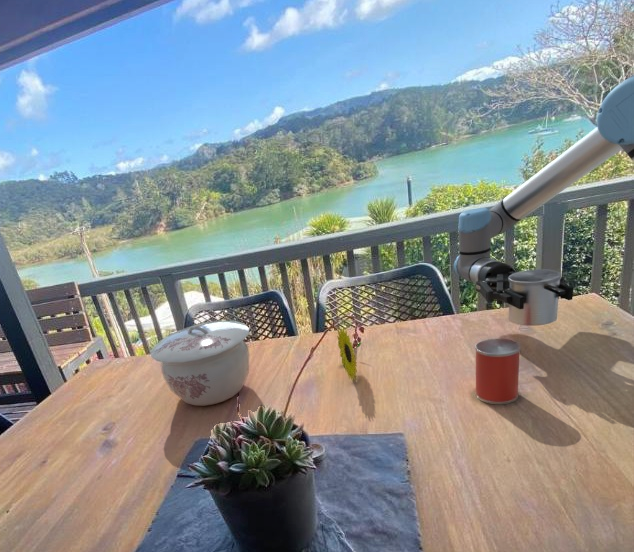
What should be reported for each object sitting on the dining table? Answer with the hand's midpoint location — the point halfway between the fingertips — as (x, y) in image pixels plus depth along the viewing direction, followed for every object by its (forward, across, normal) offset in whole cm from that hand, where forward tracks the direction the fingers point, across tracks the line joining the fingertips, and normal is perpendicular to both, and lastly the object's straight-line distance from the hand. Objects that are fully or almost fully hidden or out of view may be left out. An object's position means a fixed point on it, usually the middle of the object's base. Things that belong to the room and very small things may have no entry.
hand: (546, 298), depth 92 cm
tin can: (+8, +14, -16) cm, 23 cm away
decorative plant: (-18, +39, -16) cm, 46 cm away
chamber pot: (-17, +78, -16) cm, 81 cm away
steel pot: (-2, 0, -6) cm, 6 cm away
